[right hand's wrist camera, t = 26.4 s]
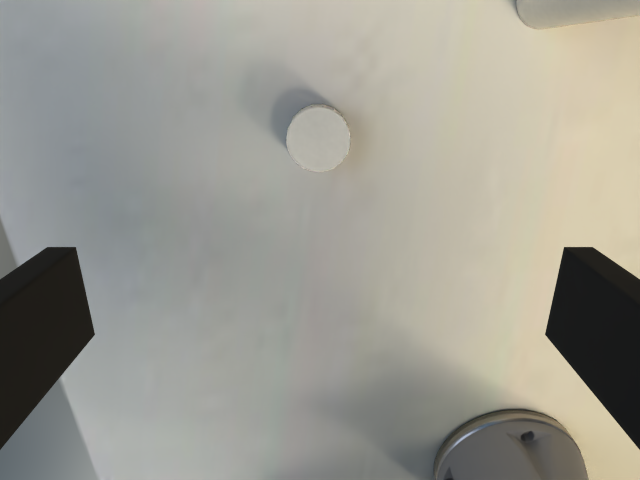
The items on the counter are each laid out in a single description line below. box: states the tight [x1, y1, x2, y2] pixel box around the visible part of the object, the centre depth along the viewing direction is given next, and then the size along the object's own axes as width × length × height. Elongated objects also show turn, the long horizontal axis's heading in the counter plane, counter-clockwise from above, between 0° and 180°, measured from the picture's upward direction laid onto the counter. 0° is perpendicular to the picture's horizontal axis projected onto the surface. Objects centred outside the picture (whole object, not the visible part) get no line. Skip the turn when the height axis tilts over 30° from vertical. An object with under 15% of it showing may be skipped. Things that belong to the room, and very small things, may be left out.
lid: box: [286, 104, 351, 172], centre depth 35 cm, size 5×5×2 cm
